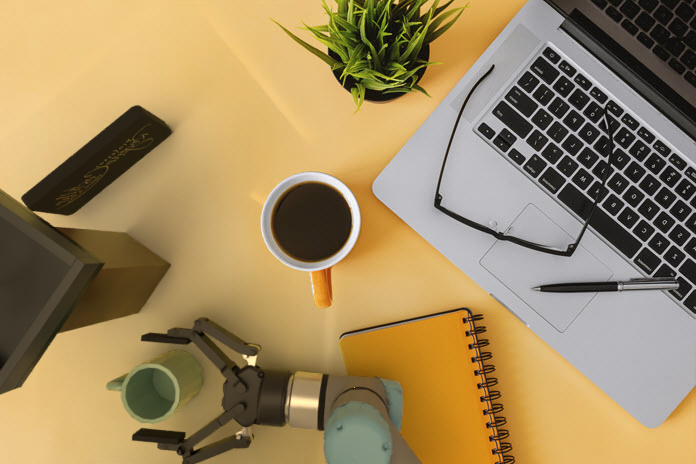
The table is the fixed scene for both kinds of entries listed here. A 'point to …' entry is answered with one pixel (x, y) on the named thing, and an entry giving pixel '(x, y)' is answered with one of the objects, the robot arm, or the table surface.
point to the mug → (159, 386)
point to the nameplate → (98, 163)
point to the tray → (35, 287)
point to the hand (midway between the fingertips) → (140, 385)
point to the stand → (115, 277)
